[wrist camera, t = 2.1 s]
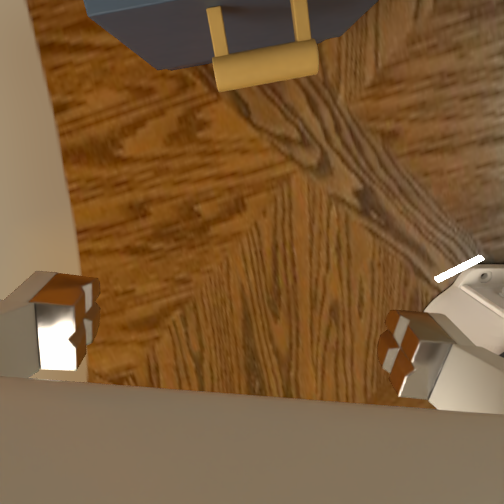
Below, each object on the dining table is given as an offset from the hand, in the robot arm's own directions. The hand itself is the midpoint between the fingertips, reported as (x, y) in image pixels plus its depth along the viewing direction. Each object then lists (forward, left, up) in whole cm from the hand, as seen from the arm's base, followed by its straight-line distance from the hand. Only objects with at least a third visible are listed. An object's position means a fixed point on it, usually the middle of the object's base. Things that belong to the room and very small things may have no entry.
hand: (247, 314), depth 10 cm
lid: (-3, -10, -17) cm, 20 cm away
